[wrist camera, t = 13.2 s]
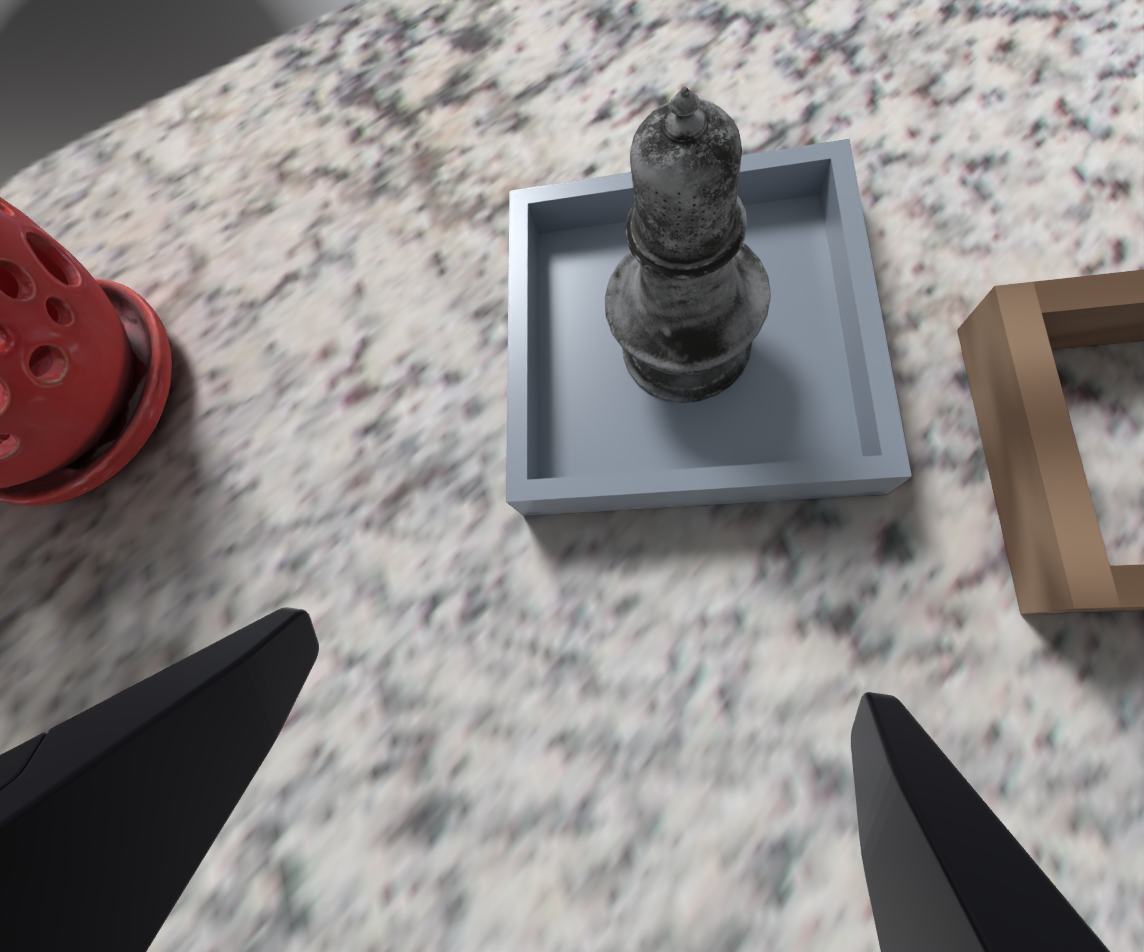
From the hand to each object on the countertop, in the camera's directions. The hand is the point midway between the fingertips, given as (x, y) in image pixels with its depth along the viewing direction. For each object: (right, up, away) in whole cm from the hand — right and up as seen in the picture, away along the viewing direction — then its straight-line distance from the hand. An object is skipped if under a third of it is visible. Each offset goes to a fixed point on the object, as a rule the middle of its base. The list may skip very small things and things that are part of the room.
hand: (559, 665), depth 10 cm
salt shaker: (+5, +8, +16) cm, 18 cm away
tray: (+5, +9, +16) cm, 19 cm away
